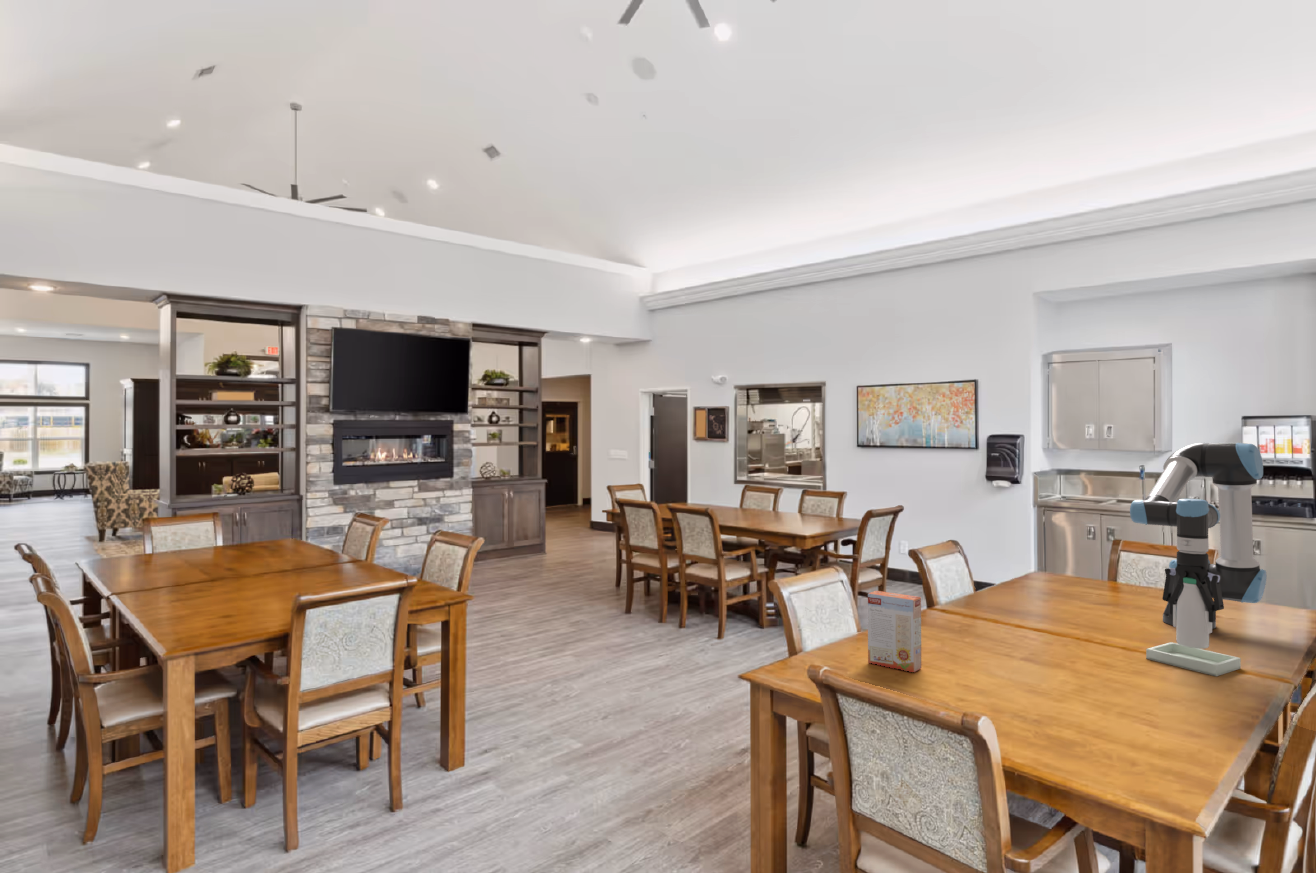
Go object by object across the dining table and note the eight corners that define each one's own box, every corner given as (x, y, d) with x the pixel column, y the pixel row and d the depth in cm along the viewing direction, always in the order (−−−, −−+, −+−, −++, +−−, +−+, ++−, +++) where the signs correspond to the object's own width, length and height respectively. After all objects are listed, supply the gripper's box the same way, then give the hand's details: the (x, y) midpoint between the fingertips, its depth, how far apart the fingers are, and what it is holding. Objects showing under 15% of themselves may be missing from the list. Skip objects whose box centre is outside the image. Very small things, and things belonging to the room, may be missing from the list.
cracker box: (922, 668, 206) (922, 596, 206) (913, 673, 202) (913, 599, 202) (876, 658, 216) (876, 589, 216) (867, 663, 211) (867, 592, 211)
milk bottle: (1214, 650, 206) (1214, 580, 206) (1184, 648, 207) (1184, 579, 207) (1200, 642, 213) (1200, 575, 213) (1171, 641, 215) (1171, 574, 215)
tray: (1171, 651, 222) (1171, 642, 222) (1240, 668, 206) (1240, 657, 206) (1146, 658, 215) (1146, 648, 215) (1216, 676, 199) (1216, 665, 199)
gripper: (1147, 547, 217) (1147, 623, 217) (1226, 557, 199) (1226, 639, 200) (1161, 546, 221) (1161, 620, 221) (1239, 555, 203) (1239, 636, 203)
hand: (1192, 629), depth 210 cm, fingers closed on milk bottle, 7 cm apart
